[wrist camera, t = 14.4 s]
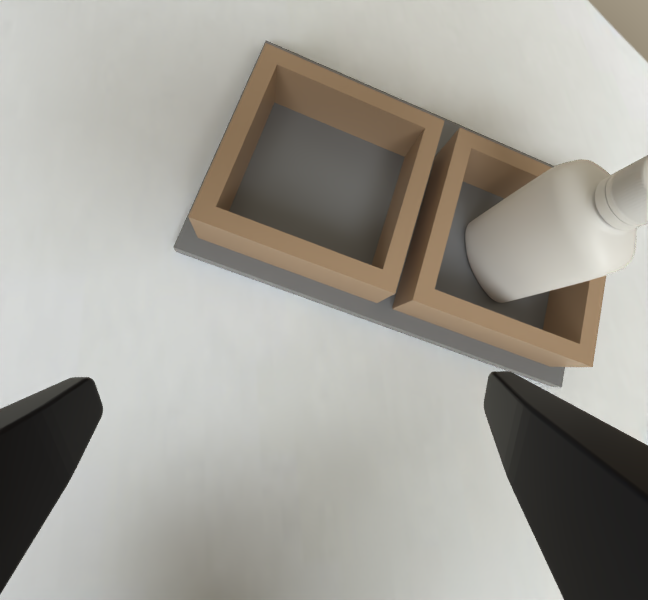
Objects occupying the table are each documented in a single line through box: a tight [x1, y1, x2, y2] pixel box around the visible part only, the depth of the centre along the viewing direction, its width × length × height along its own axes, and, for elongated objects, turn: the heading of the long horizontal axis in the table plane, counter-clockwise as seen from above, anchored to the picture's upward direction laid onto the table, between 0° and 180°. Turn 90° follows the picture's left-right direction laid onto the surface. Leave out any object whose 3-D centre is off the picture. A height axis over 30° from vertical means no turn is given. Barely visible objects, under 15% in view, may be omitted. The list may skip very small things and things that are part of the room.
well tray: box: [174, 41, 606, 387], centre depth 22 cm, size 25×15×4 cm, turn 72°
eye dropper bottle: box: [465, 155, 648, 303], centre depth 18 cm, size 4×6×12 cm
